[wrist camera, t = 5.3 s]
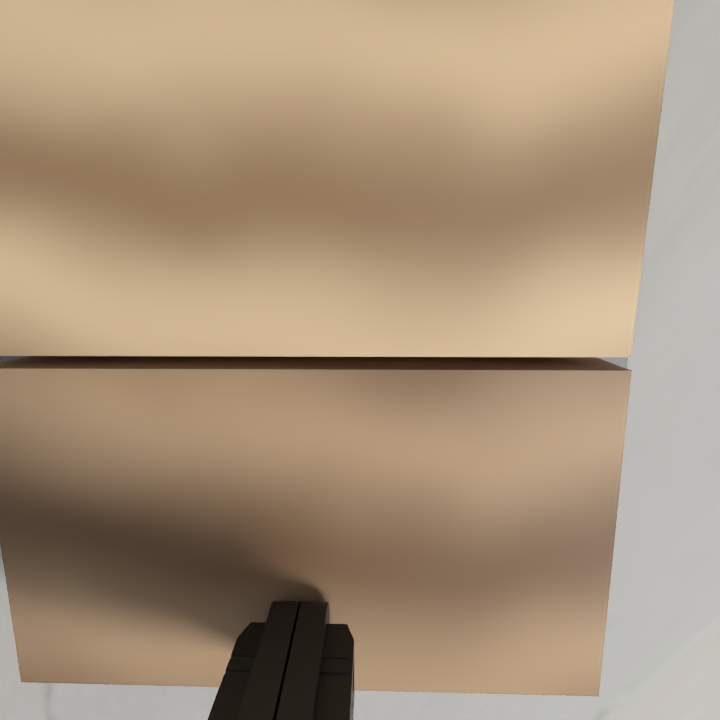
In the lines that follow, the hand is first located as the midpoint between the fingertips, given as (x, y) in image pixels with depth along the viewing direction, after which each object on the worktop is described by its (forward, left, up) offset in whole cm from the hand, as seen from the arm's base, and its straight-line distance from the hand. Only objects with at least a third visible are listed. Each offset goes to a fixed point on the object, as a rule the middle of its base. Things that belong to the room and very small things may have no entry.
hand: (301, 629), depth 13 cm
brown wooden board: (-2, 0, -2) cm, 3 cm away
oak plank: (-12, 0, -4) cm, 12 cm away
